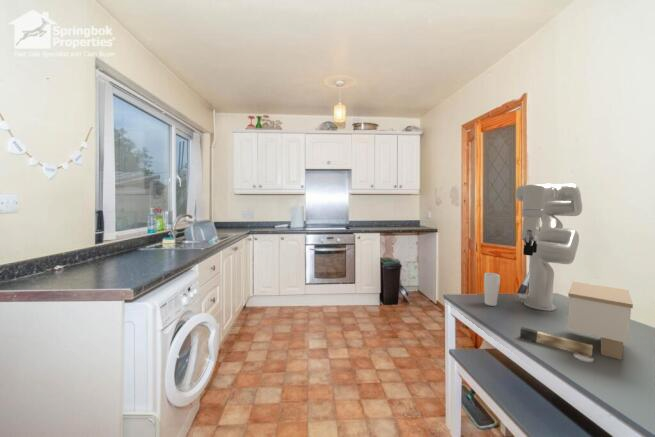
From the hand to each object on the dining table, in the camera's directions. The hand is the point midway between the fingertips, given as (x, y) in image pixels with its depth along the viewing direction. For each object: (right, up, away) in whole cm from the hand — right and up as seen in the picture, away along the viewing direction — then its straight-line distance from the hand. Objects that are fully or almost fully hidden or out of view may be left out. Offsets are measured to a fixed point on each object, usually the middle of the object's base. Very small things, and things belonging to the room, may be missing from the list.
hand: (530, 253), depth 128 cm
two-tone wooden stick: (-7, -30, -23) cm, 38 cm away
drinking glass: (-7, -27, +18) cm, 34 cm away
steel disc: (-4, -31, -31) cm, 44 cm away
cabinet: (+9, -30, -21) cm, 38 cm away
